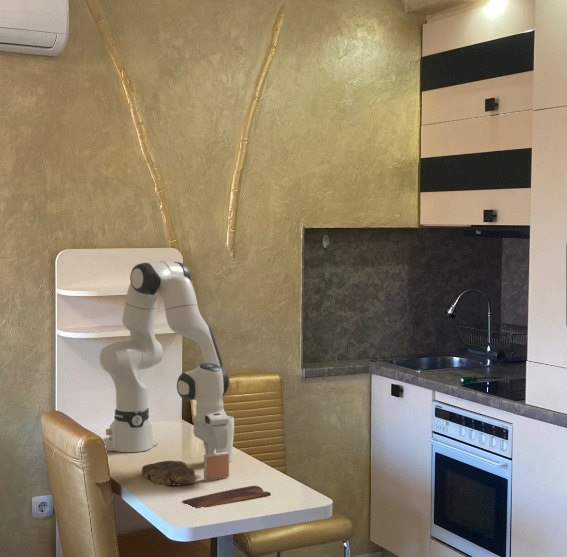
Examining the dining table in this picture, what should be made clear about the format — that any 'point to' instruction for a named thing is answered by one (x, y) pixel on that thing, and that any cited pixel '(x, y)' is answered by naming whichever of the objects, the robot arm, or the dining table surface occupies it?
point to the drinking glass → (229, 438)
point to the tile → (216, 465)
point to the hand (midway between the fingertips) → (209, 456)
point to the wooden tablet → (227, 497)
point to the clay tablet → (169, 473)
